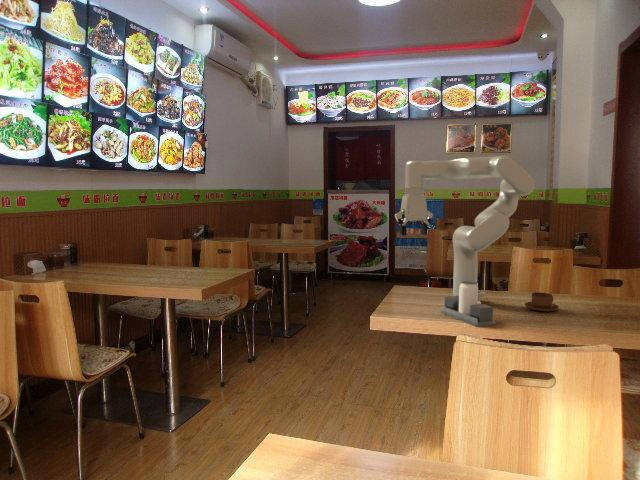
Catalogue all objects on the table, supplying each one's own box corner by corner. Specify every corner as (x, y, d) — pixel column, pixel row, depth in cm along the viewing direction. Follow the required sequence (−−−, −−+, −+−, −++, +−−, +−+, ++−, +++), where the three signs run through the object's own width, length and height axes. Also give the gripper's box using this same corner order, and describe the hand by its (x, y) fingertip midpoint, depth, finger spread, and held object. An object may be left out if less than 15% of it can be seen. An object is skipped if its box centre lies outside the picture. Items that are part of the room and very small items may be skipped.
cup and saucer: (532, 304, 203) (532, 289, 203) (563, 309, 195) (563, 294, 194) (519, 309, 195) (520, 294, 194) (551, 315, 186) (551, 299, 186)
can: (474, 318, 177) (475, 284, 176) (456, 315, 180) (457, 283, 179) (479, 314, 182) (480, 282, 181) (461, 312, 186) (462, 280, 184)
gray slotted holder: (458, 311, 192) (459, 295, 191) (494, 324, 173) (495, 306, 173) (441, 313, 189) (441, 297, 188) (476, 326, 170) (476, 308, 170)
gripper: (427, 192, 206) (426, 233, 208) (390, 192, 200) (390, 234, 201) (438, 192, 199) (437, 235, 201) (400, 192, 193) (399, 236, 194)
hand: (413, 234), depth 201 cm, fingers open, 9 cm apart
